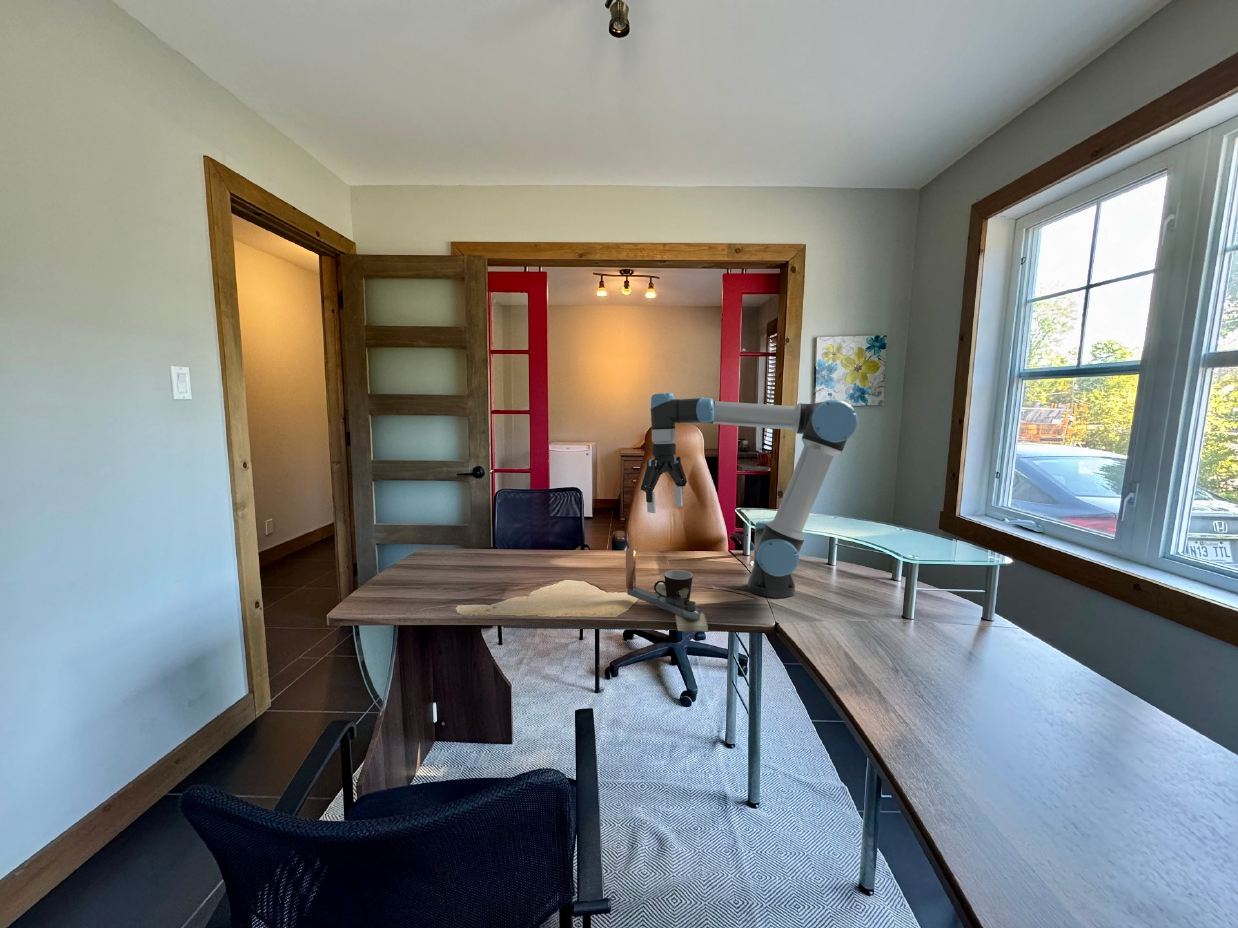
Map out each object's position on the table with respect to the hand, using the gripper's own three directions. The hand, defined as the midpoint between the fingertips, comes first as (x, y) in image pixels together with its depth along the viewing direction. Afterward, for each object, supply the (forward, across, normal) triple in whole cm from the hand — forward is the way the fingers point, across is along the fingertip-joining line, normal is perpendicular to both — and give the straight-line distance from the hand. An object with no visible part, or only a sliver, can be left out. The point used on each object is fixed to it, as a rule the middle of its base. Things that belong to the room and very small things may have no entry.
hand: (665, 509), depth 149 cm
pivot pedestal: (+28, +13, +18) cm, 36 cm away
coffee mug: (+28, +6, +7) cm, 30 cm away
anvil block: (+28, -1, +1) cm, 28 cm away
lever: (+26, +11, +7) cm, 30 cm away
